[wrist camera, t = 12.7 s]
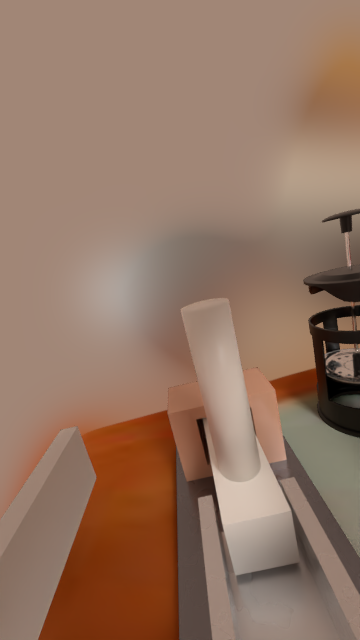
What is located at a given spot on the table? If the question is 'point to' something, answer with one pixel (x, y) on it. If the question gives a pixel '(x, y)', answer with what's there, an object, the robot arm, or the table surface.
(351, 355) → the french press
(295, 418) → the table surface
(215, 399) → the bar
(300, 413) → the table surface
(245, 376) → the socket block
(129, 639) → the table surface
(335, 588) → the slotted sleeve
